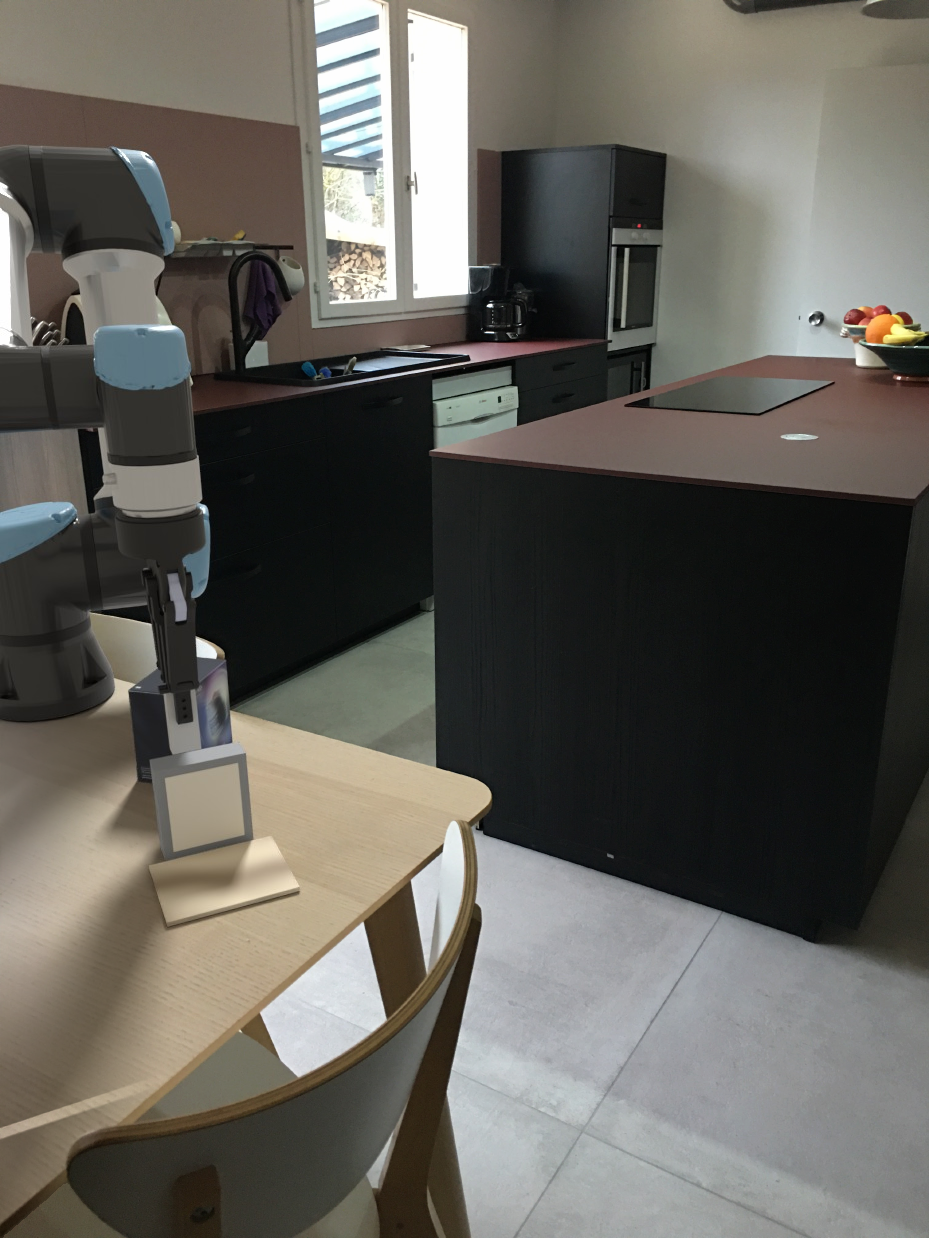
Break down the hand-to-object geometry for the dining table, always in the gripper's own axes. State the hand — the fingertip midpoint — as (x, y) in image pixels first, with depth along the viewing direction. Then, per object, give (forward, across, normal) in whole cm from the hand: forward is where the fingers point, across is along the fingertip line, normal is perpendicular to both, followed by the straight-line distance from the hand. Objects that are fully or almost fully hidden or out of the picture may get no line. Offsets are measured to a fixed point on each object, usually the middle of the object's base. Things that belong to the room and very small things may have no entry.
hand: (185, 748), depth 94 cm
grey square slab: (+7, +7, 0) cm, 10 cm away
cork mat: (+7, +13, 0) cm, 15 cm away
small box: (+7, -10, +2) cm, 12 cm away
